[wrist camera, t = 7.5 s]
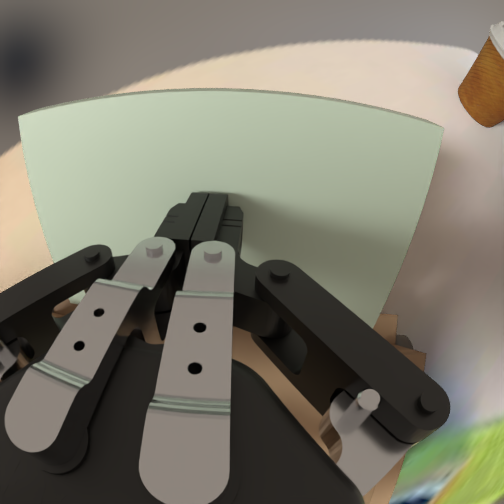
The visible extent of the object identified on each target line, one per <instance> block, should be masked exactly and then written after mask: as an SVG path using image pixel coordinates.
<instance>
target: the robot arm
mask: <svg viewBox="0 0 504 504" xmlns="http://www.w3.org/2000/svg"><path fill="white" fill-rule="evenodd" d="M243 215H244V213H243V211H242V210H241V208H240V207H238V206H228V194H217V193H210V194H209V193H197V192H192V193H191V194H190V196H189V198H188V200H187V201H186V203H178V204H176V205H175V206H173V207H172V208H170V210H169V211H168V213H167V215H166V217H165V218H164V220H163V222H162V223H161V225H160V227H159V228H158V230H157V232H156V233H155V235H154V237H151V238H147V239H145V240H143V241H141V242H140V243H138V244H137V245H136V247H135V248H134V249H133V251H132V252H131V253H130V255H123V256H115V257H113V255H112V251H111V249H110V248H109V247H108V246H106V245H101V244H97V245H91V246H88V247H86V248H84V249H82V250H80V251H78V252H76V253H74V254H72V255H70V256H68V257H66V258H64V259H62V260H60V261H58V262H56V263H54V264H52V265H50V266H48V267H46V268H45V269H43V270H41V271H39V272H37V273H35V274H33V275H32V276H30V277H28V278H26V279H24V280H23V281H21V282H19V283H17V284H15V285H14V286H12V287H10V288H8V289H7V290H5V291H3V292H2V293H0V504H365V502H364V499H363V496H364V495H365V494H367V493H368V492H369V491H370V490H371V489H372V488H373V487H374V486H375V485H376V484H377V483H378V482H379V481H380V480H381V479H382V478H383V477H384V476H385V475H386V474H387V473H388V472H389V471H390V470H391V469H392V467H393V466H394V465H395V464H396V463H397V462H398V461H399V460H400V459H401V458H402V456H403V455H404V454H405V453H406V452H407V451H408V450H409V449H410V448H411V447H413V446H414V445H416V444H417V443H419V442H420V441H422V440H423V439H425V438H426V437H427V436H429V435H430V434H432V433H433V432H434V431H436V430H437V429H438V428H440V427H441V426H442V425H443V424H444V423H445V422H446V421H447V419H448V417H449V413H450V402H449V398H448V396H447V394H446V392H445V391H444V390H443V388H442V387H441V386H439V385H438V384H437V383H436V382H435V381H434V380H432V379H431V378H430V377H429V376H428V375H427V374H426V373H424V372H423V371H422V370H421V369H420V368H419V367H417V366H416V365H415V364H414V363H413V362H412V361H410V360H409V359H408V358H407V357H406V356H404V355H403V354H402V353H401V352H400V351H399V350H397V349H396V348H395V347H394V346H393V345H392V344H390V343H389V342H388V341H387V340H386V339H384V338H383V337H382V336H381V335H380V334H379V333H377V332H376V331H375V330H374V329H373V328H371V327H370V326H369V325H368V324H367V323H365V322H364V321H363V320H362V319H361V318H359V317H358V316H357V315H356V314H355V313H353V312H352V311H351V310H350V309H349V308H347V307H346V306H345V305H344V304H343V303H341V302H340V301H339V300H338V299H337V298H335V297H334V296H333V295H332V294H330V293H329V292H328V291H327V290H326V289H324V288H323V287H322V286H321V285H320V284H318V283H317V282H316V281H315V280H313V279H312V278H311V277H310V276H309V275H307V274H306V273H305V272H304V271H302V270H301V269H300V268H299V267H297V266H296V265H295V264H293V263H291V262H288V261H285V260H268V261H265V262H263V263H262V264H260V265H259V266H258V267H256V266H253V265H250V264H248V263H246V262H245V261H243V260H242V259H241V258H240V255H241V248H242V235H243ZM83 290H84V291H85V296H84V297H83V299H82V300H81V301H80V303H79V304H78V306H77V307H76V309H75V310H74V311H72V312H70V313H68V314H67V315H65V316H63V317H61V318H55V317H54V316H53V315H52V311H53V309H54V307H55V306H56V305H58V304H60V303H61V302H63V301H65V300H67V299H68V298H70V297H72V296H74V295H76V294H77V293H79V292H81V291H83ZM233 326H234V327H237V328H240V329H242V330H245V331H248V332H251V337H252V340H253V341H254V342H255V343H256V345H257V346H258V347H259V348H260V349H261V350H262V351H263V352H264V354H265V355H266V356H267V357H268V358H269V359H270V360H271V361H272V363H273V364H274V365H275V366H276V367H277V368H278V369H279V370H280V371H281V373H282V374H283V375H284V376H285V377H286V378H287V379H288V380H289V381H290V382H291V383H292V385H293V386H294V387H295V388H296V389H297V390H298V391H299V392H300V393H301V394H302V395H303V396H304V397H305V398H306V399H307V401H308V402H309V403H310V404H311V405H312V406H313V407H314V408H315V409H316V410H317V411H318V412H319V413H320V414H321V415H322V416H323V417H322V418H321V420H320V423H319V434H320V437H321V439H322V441H323V442H324V443H325V445H326V446H327V449H328V451H329V456H328V455H327V453H326V452H325V451H324V450H323V449H322V448H321V447H320V446H319V444H318V443H317V442H316V441H315V440H314V439H313V438H312V437H311V435H310V434H309V433H308V432H307V431H306V430H305V428H304V427H303V426H302V425H301V424H300V423H299V421H298V420H297V419H296V418H295V417H294V416H293V414H292V413H291V412H290V411H289V410H288V408H287V407H286V406H285V405H284V404H283V402H282V401H281V400H280V399H279V397H278V396H277V395H276V394H275V393H274V391H273V390H272V389H271V388H270V386H269V385H268V384H267V383H266V381H265V380H264V379H263V378H262V377H261V376H260V375H259V374H258V373H257V372H255V371H254V370H253V369H251V368H250V367H248V366H247V365H245V364H243V363H241V362H239V361H237V360H235V359H232V349H233Z"/></svg>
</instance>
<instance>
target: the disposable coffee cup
mask: <svg viewBox="0 0 504 504" xmlns="http://www.w3.org/2000/svg"><path fill="white" fill-rule="evenodd" d="M489 35H490V36H489V38H488V39H487V41H486V43H485V45H484V46H483V48H482V50H481V51H480V54H479V55H478V57H477V59H476V60H475V62H474V64H473V65H472V67H471V69H470V70H469V72H468V74H467V75H466V77H465V79H464V80H463V82H462V83H461V85H460V86H459V89H458V94H459V98H460V101H461V103H462V104H463V106H464V108H465V109H466V110H467V112H468V113H469V114H470V115H471V117H472V118H474V119H475V120H476V121H477V122H478V123H480V124H481V125H483V126H485V127H492V126H494V125H496V124H498V123H500V122H501V121H503V120H504V22H500V23H498V24H496V25H491V27H490V32H489Z"/></svg>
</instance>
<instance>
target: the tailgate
mask: <svg viewBox="0 0 504 504" xmlns="http://www.w3.org/2000/svg"><path fill="white" fill-rule="evenodd" d="M18 120H19V127H20V134H21V141H22V147H23V153H24V159H25V164H26V169H27V173H28V178H29V182H30V187H31V191H32V195H33V199H34V202H35V206H36V210H37V213H38V217H39V220H40V223H41V227H42V230H43V233H44V236H45V239H46V242H47V245H48V248H49V251H50V254H51V256H52V259H53V262H54V263H56V262H58V261H60V260H62V259H64V258H66V257H68V256H70V255H72V254H74V253H76V252H78V251H80V250H82V249H84V248H86V247H88V246H91V245H97V244H101V245H106V246H108V247H109V248H110V249H111V251H112V255H113V257H115V256H123V255H130V253H131V252H132V251H133V249H134V248H135V247H136V245H137V244H138V243H140V242H141V241H143V240H145V239H147V238H151V237H154V235H155V233H156V232H157V230H158V228H159V227H160V225H161V223H162V222H163V220H164V218H165V217H166V215H167V213H168V211H169V210H170V208H172V207H173V206H175V205H176V204H178V203H186V201H187V200H188V198H189V196H190V194H191V193H192V192H197V193H209V194H210V193H217V194H228V206H238V207H240V208H241V210H242V211H243V213H244V215H243V235H242V248H241V255H240V258H241V259H242V260H243V261H245V262H246V263H248V264H250V265H253V266H256V267H258V266H259V265H260V264H262V263H263V262H265V261H268V260H285V261H288V262H291V263H293V264H295V265H296V266H297V267H299V268H300V269H301V270H302V271H304V272H305V273H306V274H307V275H309V276H310V277H311V278H312V279H313V280H315V281H316V282H317V283H318V284H320V285H321V286H322V287H323V288H324V289H326V290H327V291H328V292H329V293H330V294H332V295H333V296H334V297H335V298H337V299H338V300H339V301H340V302H341V303H343V304H344V305H345V306H346V307H347V308H349V309H350V310H351V311H352V312H353V313H355V314H356V315H357V316H358V317H359V318H361V319H362V320H363V321H364V322H365V323H367V324H368V325H369V326H370V327H371V328H373V327H374V325H375V323H376V321H377V319H378V317H379V315H380V313H381V311H382V309H383V307H384V305H385V302H386V300H387V298H388V296H389V294H390V291H391V289H392V287H393V285H394V282H395V280H396V278H397V275H398V273H399V271H400V268H401V266H402V263H403V261H404V258H405V256H406V253H407V251H408V248H409V246H410V243H411V240H412V238H413V235H414V232H415V229H416V226H417V224H418V221H419V218H420V215H421V212H422V209H423V206H424V203H425V199H426V196H427V193H428V190H429V186H430V183H431V179H432V176H433V172H434V169H435V165H436V161H437V157H438V153H439V149H440V145H441V141H442V136H443V131H444V128H443V127H441V126H439V125H437V124H435V123H433V122H430V121H428V120H426V119H422V118H419V117H415V116H412V115H408V114H405V113H401V112H397V111H393V110H389V109H385V108H380V107H376V106H372V105H367V104H362V103H357V102H352V101H346V100H341V99H335V98H329V97H322V96H315V95H308V94H300V93H291V92H280V91H269V90H254V89H229V88H190V89H166V90H152V91H140V92H130V93H122V94H114V95H106V96H100V97H93V98H87V99H82V100H77V101H71V102H66V103H62V104H57V105H53V106H49V107H44V108H40V109H37V110H34V111H31V112H29V113H26V114H24V115H21V116H19V117H18ZM84 296H85V291H84V290H83V291H81V292H79V293H77V294H76V295H74V296H72V297H70V298H68V299H69V301H70V303H73V304H79V303H80V301H81V300H82V299H83V297H84Z"/></svg>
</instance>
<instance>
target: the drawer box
mask: <svg viewBox="0 0 504 504" xmlns="http://www.w3.org/2000/svg"><path fill="white" fill-rule="evenodd" d="M77 306H78V304H73V303H70V301H69V299H67V300H65V301H63V302H61V303H60V304H58V305H56V306H55V307H54V309H53V311H52V315H53V316H54V317H55V318H61V317H63V316H65V315H67V314H68V313H70V312H72V311H74V310H75V309H76V307H77ZM397 318H398V315H391V314H380V315H379V317H378V319H377V321H376V323H375V325H374V327H373V329H374V330H375V331H376V332H377V333H379V334H380V335H381V336H382V337H383V338H384V339H386V340H387V341H388V342H389V343H390V344H392V345H393V346H394V347H395V348H396V349H397V350H399V351H400V352H401V353H402V354H403V355H404V356H406V357H407V358H408V359H409V360H410V361H412V362H413V363H414V364H415V365H416V366H417V367H419V368H420V369H421V370H422V371H423V372H424V366H425V359H426V353H423V352H419V351H416V350H413V346H412V344H411V342H410V340H409V339H408V338H407V337H406V336H404V335H396V330H397ZM232 359H235V360H237V361H239V362H241V363H243V364H245V365H247V366H248V367H250V368H251V369H253V370H254V371H255V372H257V373H258V374H259V375H260V376H261V377H262V378H263V379H264V380H265V381H266V383H267V384H268V385H269V386H270V388H271V389H272V390H273V391H274V393H275V394H276V395H277V396H278V397H279V399H280V400H281V401H282V402H283V404H284V405H285V406H286V407H287V408H288V410H289V411H290V412H291V413H292V414H293V416H294V417H295V418H296V419H297V420H298V421H299V423H300V424H301V425H302V426H303V427H304V428H305V430H306V431H307V432H308V433H309V434H310V435H311V437H312V438H313V439H314V440H315V441H316V442H317V443H318V444H319V446H320V447H321V448H322V449H323V450H324V451H325V452H326V453H327V455H328V456H329V451H328V449H327V446H326V445H325V443H324V442H323V441H322V439H321V437H320V434H319V423H320V420H321V418H322V417H323V416H322V415H321V414H320V413H319V412H318V411H317V410H316V409H315V408H314V407H313V406H312V405H311V404H310V403H309V402H308V401H307V399H306V398H305V397H304V396H303V395H302V394H301V393H300V392H299V391H298V390H297V389H296V388H295V387H294V386H293V385H292V383H291V382H290V381H289V380H288V379H287V378H286V377H285V376H284V375H283V374H282V373H281V371H280V370H279V369H278V368H277V367H276V366H275V365H274V364H273V363H272V361H271V360H270V359H269V358H268V357H267V356H266V355H265V354H264V352H263V351H262V350H261V349H260V348H259V347H258V346H257V345H256V343H255V342H254V341H253V340H252V337H251V332H248V331H245V330H242V329H240V328H237V327H234V326H233V349H232ZM405 454H406V453H405ZM405 454H404V455H403V456H402V458H401V459H400V460H399V461H398V462H397V463H396V464H395V465H394V466H393V467H392V469H391V470H390V471H389V472H388V473H387V474H386V475H385V476H384V477H383V478H382V479H381V480H380V481H379V482H378V483H377V484H376V485H375V486H374V487H373V488H372V489H371V490H370V491H369V492H368V493H367V494H365V495H364V496H363V499H364V502H365V504H389V501H390V498H391V496H392V493H393V491H394V488H395V485H396V482H397V479H398V476H399V473H400V470H401V467H402V464H403V461H404V458H405Z"/></svg>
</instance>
